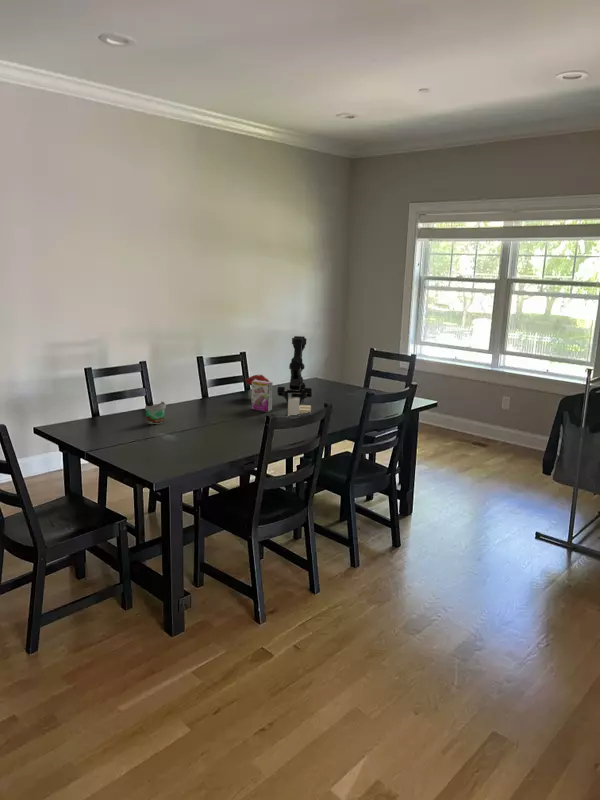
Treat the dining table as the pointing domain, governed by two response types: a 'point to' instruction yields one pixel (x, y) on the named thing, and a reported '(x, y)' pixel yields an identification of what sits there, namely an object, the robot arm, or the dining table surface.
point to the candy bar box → (261, 395)
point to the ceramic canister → (293, 406)
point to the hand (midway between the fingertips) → (293, 405)
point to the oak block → (305, 409)
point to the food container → (155, 413)
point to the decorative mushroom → (256, 377)
